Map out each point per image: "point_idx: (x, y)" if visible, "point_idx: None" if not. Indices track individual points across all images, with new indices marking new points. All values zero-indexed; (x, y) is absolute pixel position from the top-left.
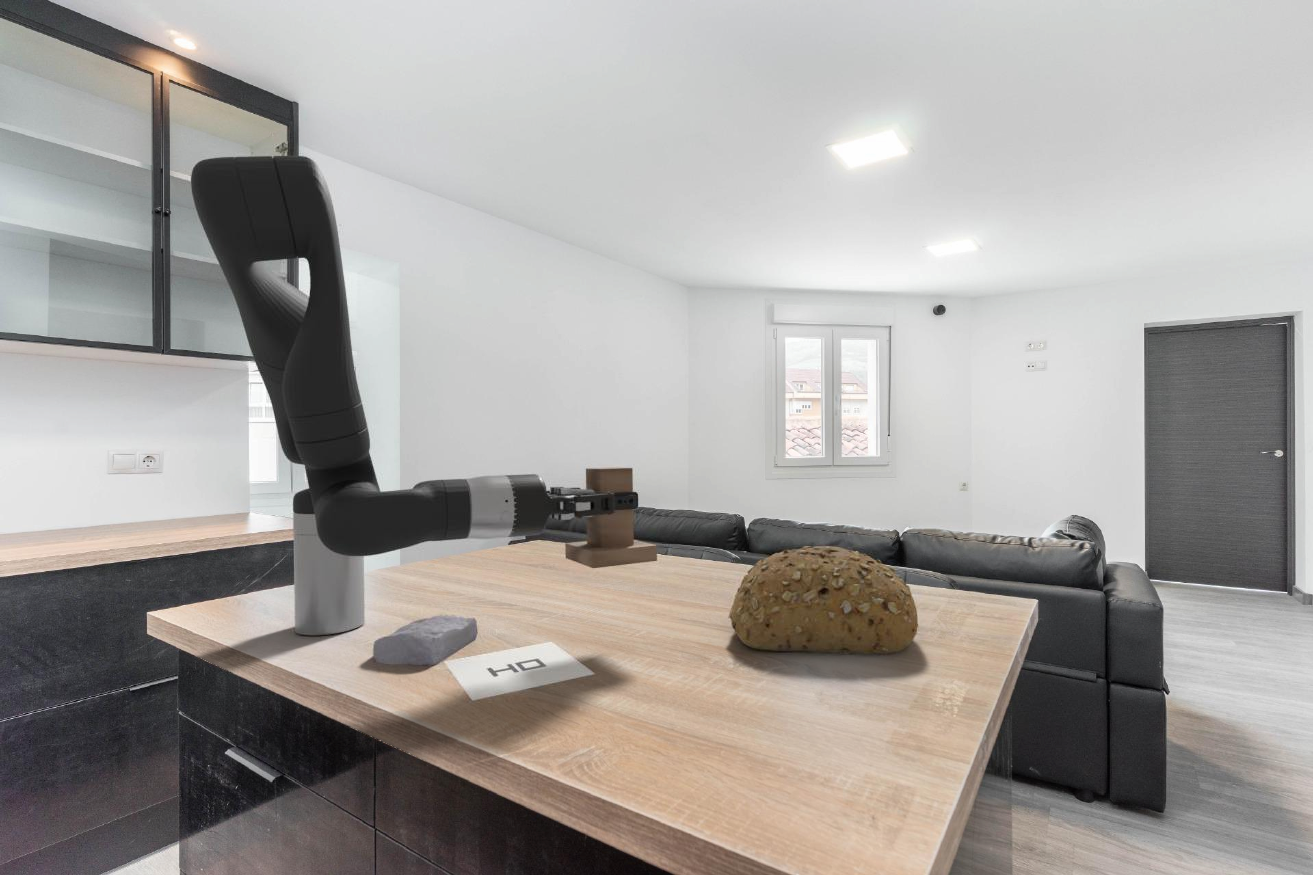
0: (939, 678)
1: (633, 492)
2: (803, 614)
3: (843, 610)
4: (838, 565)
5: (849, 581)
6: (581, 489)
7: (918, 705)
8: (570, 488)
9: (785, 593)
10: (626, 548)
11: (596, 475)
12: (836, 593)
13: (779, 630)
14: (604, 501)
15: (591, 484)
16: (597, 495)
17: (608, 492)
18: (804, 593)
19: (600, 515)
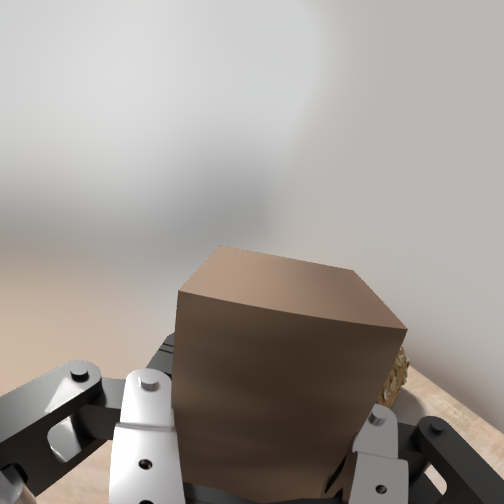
0: (428, 398)
1: None
2: (388, 403)
3: (402, 383)
4: None
5: (398, 354)
6: (380, 501)
7: (462, 427)
8: (183, 494)
9: (385, 393)
10: None
11: (341, 359)
12: (400, 371)
13: None
14: (414, 463)
15: (250, 394)
16: (492, 471)
17: (438, 427)
18: (389, 384)
19: (316, 490)
